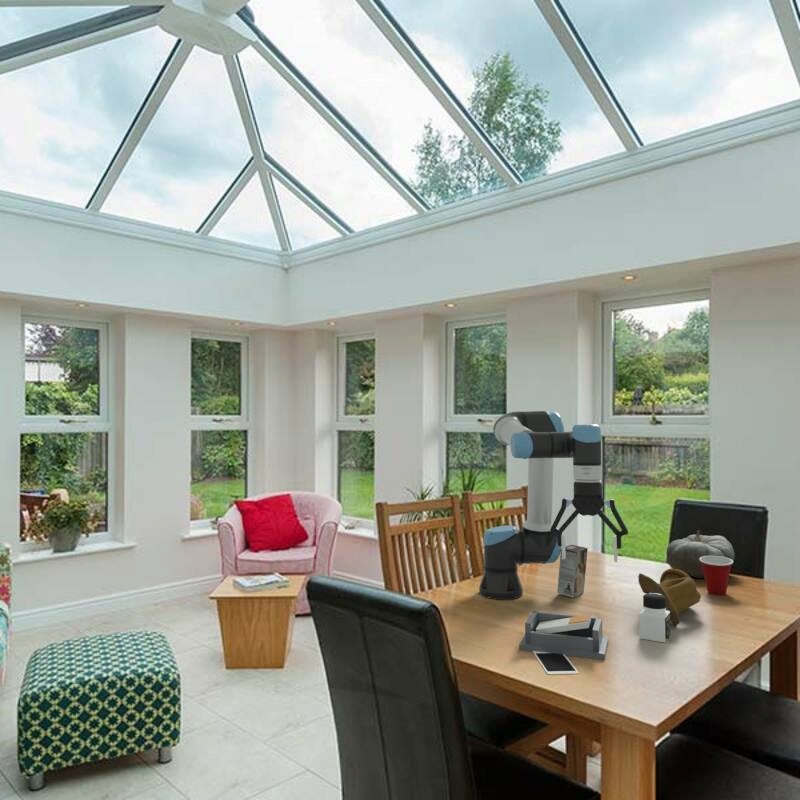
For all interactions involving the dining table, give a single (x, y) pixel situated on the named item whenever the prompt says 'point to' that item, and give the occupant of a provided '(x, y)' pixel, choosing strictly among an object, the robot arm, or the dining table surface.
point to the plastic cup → (716, 573)
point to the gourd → (697, 552)
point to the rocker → (564, 624)
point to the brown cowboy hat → (673, 591)
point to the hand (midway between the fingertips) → (589, 559)
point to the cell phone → (555, 663)
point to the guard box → (565, 637)
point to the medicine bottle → (654, 618)
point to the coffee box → (572, 571)
